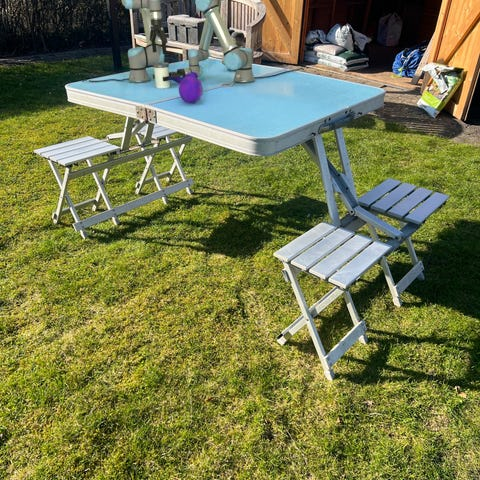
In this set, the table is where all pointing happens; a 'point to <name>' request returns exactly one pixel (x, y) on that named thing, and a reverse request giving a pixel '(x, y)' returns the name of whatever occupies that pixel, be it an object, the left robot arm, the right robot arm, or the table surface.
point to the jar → (161, 77)
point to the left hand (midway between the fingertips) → (159, 53)
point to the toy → (189, 87)
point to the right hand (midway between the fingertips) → (158, 77)
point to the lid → (160, 65)
